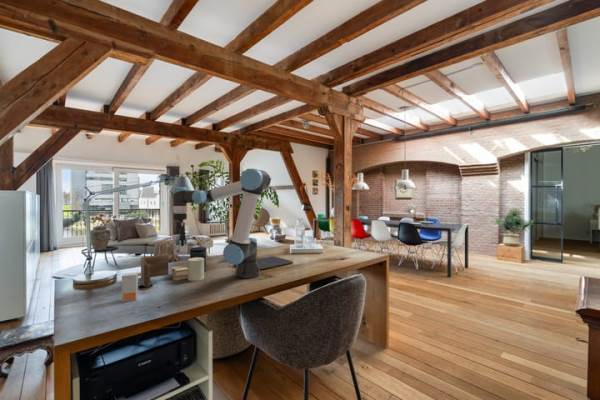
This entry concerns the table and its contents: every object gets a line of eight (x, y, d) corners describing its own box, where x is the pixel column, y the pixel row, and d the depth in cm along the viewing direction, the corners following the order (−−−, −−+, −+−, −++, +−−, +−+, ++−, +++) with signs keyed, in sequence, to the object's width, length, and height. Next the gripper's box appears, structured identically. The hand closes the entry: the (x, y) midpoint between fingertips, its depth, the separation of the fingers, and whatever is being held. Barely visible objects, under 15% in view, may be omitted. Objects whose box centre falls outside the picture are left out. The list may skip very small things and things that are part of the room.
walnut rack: (174, 282, 157) (174, 261, 156) (144, 287, 148) (144, 265, 148) (168, 273, 175) (168, 254, 175) (141, 277, 167) (140, 257, 167)
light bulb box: (187, 254, 165) (187, 235, 165) (175, 255, 162) (175, 236, 162) (184, 251, 174) (184, 233, 174) (172, 252, 171) (172, 234, 171)
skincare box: (121, 302, 128) (121, 276, 128) (123, 299, 132) (123, 273, 132) (136, 300, 130) (136, 274, 130) (138, 297, 134) (137, 272, 134)
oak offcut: (188, 279, 166) (188, 273, 166) (174, 281, 162) (174, 276, 162) (185, 275, 174) (185, 270, 174) (171, 277, 170) (171, 272, 170)
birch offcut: (188, 273, 167) (188, 268, 167) (176, 275, 162) (176, 270, 162) (183, 270, 174) (183, 265, 174) (171, 272, 169) (171, 267, 169)
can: (198, 281, 159) (198, 260, 159) (184, 280, 161) (184, 259, 161) (207, 276, 168) (207, 256, 168) (193, 276, 170) (193, 256, 170)
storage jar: (209, 269, 185) (208, 247, 184) (202, 274, 175) (202, 250, 175) (194, 269, 186) (194, 246, 185) (187, 273, 176) (187, 249, 176)
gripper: (169, 212, 175) (170, 247, 176) (177, 214, 156) (177, 253, 156) (182, 211, 179) (182, 246, 180) (191, 213, 160) (191, 252, 160)
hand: (180, 249), depth 168 cm, fingers closed on light bulb box, 11 cm apart
